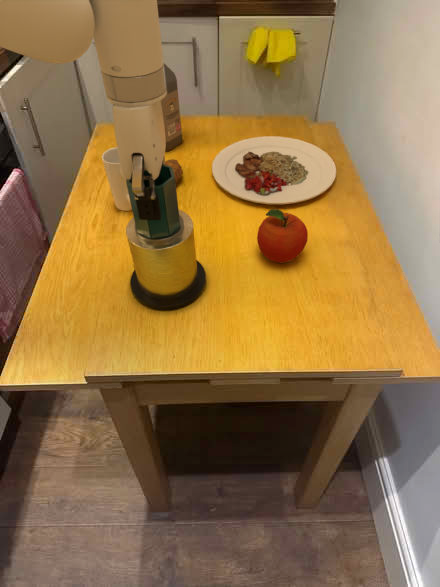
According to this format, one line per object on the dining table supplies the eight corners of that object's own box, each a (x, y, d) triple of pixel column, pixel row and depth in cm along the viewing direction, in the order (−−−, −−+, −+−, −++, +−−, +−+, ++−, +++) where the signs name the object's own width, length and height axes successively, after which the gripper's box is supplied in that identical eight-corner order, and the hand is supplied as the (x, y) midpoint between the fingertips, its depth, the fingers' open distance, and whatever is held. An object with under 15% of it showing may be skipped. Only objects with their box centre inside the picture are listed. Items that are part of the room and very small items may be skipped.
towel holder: (115, 290, 75) (97, 232, 65) (163, 247, 83) (153, 189, 73) (175, 323, 70) (166, 265, 60) (220, 273, 78) (218, 215, 67)
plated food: (321, 140, 111) (323, 128, 108) (347, 207, 91) (351, 194, 88) (211, 144, 110) (210, 132, 108) (213, 212, 90) (212, 199, 88)
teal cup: (127, 228, 65) (115, 179, 59) (154, 206, 69) (146, 157, 63) (161, 243, 63) (153, 193, 56) (187, 219, 67) (183, 170, 60)
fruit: (300, 275, 77) (307, 234, 69) (251, 265, 79) (253, 224, 71) (308, 242, 83) (315, 201, 75) (262, 234, 85) (265, 194, 78)
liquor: (187, 140, 112) (176, 12, 90) (164, 154, 108) (147, 22, 85) (163, 131, 116) (147, 6, 94) (140, 144, 111) (117, 16, 89)
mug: (111, 198, 95) (98, 151, 86) (139, 191, 96) (129, 144, 87) (122, 223, 88) (109, 174, 80) (151, 215, 90) (142, 166, 81)
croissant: (177, 198, 94) (175, 179, 91) (149, 196, 95) (145, 177, 91) (188, 166, 103) (187, 148, 100) (162, 165, 104) (160, 147, 100)
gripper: (119, 57, 56) (140, 171, 69) (86, 113, 44) (119, 238, 57) (173, 56, 55) (184, 172, 69) (154, 114, 44) (172, 239, 57)
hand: (154, 201), depth 63 cm, fingers closed on teal cup, 7 cm apart
